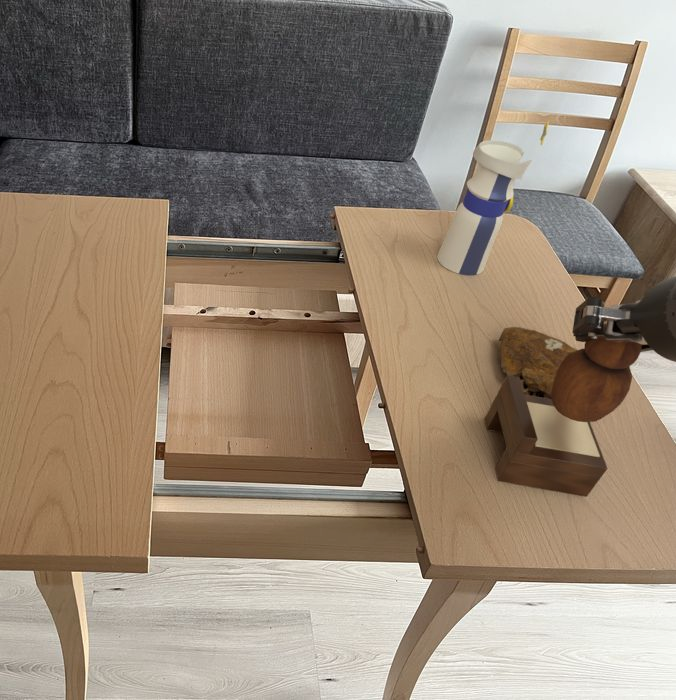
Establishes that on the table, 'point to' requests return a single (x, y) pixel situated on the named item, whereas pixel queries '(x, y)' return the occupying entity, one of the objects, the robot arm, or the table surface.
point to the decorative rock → (532, 358)
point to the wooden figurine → (594, 379)
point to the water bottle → (483, 206)
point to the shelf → (543, 443)
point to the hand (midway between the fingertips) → (607, 336)
